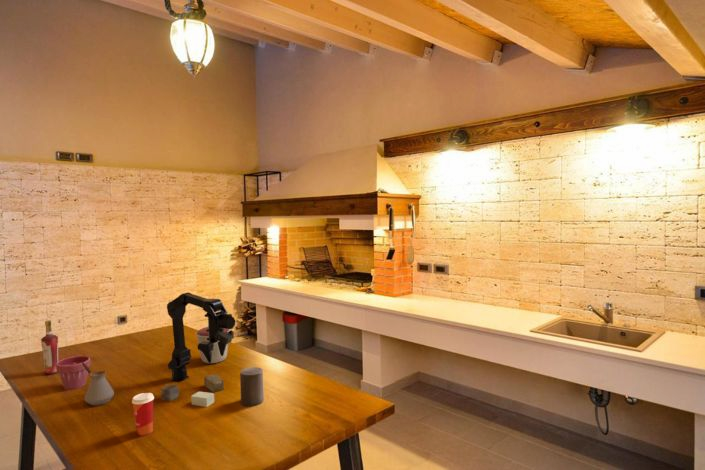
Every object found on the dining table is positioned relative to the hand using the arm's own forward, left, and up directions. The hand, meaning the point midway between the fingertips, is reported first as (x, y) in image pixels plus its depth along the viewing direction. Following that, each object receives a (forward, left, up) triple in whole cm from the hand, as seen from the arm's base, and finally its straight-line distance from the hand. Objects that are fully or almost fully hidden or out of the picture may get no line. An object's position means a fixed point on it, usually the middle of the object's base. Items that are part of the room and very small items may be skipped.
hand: (216, 359), depth 207 cm
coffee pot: (-46, -27, -14) cm, 55 cm away
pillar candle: (+25, -8, -14) cm, 29 cm away
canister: (-25, +30, -14) cm, 42 cm away
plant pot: (-69, -19, -14) cm, 73 cm away
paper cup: (0, -43, -14) cm, 45 cm away
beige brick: (+5, -16, -14) cm, 22 cm away
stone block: (-1, -1, -14) cm, 14 cm away
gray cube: (-13, -16, -14) cm, 25 cm away
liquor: (-98, -10, -14) cm, 100 cm away
